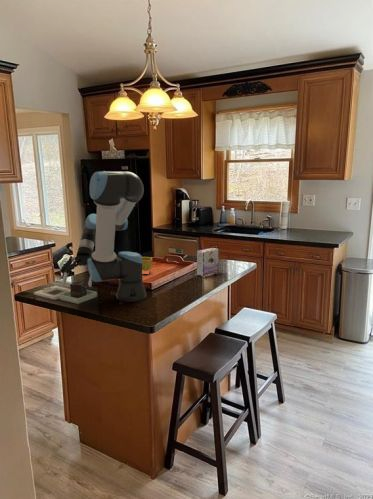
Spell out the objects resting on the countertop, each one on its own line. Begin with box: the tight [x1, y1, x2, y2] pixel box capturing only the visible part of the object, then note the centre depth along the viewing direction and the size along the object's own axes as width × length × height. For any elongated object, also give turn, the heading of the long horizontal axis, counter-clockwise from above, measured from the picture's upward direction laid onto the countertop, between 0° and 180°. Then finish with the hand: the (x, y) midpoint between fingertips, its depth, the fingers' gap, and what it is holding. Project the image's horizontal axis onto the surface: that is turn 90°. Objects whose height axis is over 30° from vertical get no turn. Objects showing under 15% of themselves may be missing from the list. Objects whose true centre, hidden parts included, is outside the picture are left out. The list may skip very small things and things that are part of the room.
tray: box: [58, 289, 98, 305], centre depth 190 cm, size 13×13×2 cm
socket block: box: [33, 285, 71, 300], centre depth 197 cm, size 16×14×2 cm
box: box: [69, 280, 87, 299], centre depth 190 cm, size 6×6×7 cm
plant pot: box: [142, 256, 153, 270], centre depth 236 cm, size 10×10×10 cm
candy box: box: [196, 247, 220, 276], centre depth 231 cm, size 14×6×16 cm, turn 133°
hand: (76, 285), depth 187 cm, fingers open, 13 cm apart
